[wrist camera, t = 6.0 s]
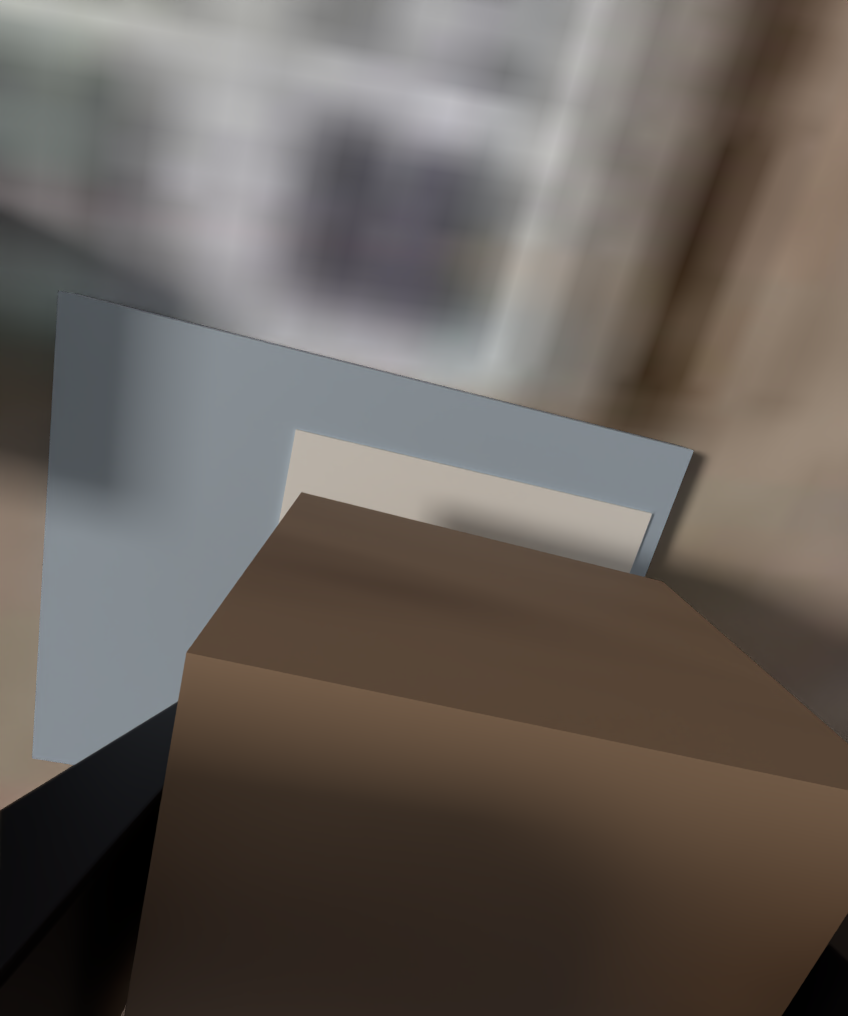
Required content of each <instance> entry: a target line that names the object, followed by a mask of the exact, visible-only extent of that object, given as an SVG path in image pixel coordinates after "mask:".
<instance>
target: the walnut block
mask: <svg viewBox="0 0 848 1016" xmlns="http://www.w3.org/2000/svg"><path fill="white" fill-rule="evenodd" d="M847 914H848V743H846V742H845V741H844V740H843V739H842V738H841V737H840V736H838V735H837V734H836V733H835V732H834V731H833V730H832V729H830V728H829V727H828V726H827V725H826V724H825V723H824V722H822V721H821V720H820V719H819V718H818V717H817V716H816V715H814V714H813V713H812V712H811V711H810V710H809V709H808V708H806V707H805V706H804V705H803V704H802V703H801V702H800V701H798V700H797V699H796V698H795V697H794V696H793V695H792V694H790V693H789V692H788V691H787V690H786V689H785V688H784V687H783V686H781V685H780V684H779V683H778V682H777V681H776V680H775V679H773V678H772V677H771V676H770V675H769V674H768V673H767V672H765V671H764V670H763V669H762V668H761V667H760V666H759V665H757V664H756V663H755V662H754V661H753V660H752V659H751V658H749V657H748V656H747V655H746V654H745V653H744V652H743V651H741V650H740V649H739V648H738V647H737V646H736V645H735V644H733V643H732V642H731V641H730V640H729V639H728V638H727V637H725V636H724V635H723V634H722V633H721V632H720V631H719V630H717V629H716V628H715V627H714V626H713V625H712V624H711V623H709V622H708V621H707V620H706V619H705V618H704V617H703V616H701V615H700V614H699V613H698V612H697V611H696V610H695V609H693V608H692V607H691V606H690V605H689V604H688V603H687V602H685V601H684V600H683V599H682V598H681V597H680V596H679V595H677V594H676V593H675V592H674V591H673V590H672V589H671V588H669V587H668V586H667V585H666V584H665V583H664V582H663V581H659V580H655V579H651V578H647V577H643V576H639V575H635V574H630V573H626V572H622V571H618V570H614V569H610V568H606V567H602V566H598V565H594V564H590V563H586V562H582V561H578V560H574V559H570V558H566V557H562V556H558V555H554V554H550V553H546V552H542V551H538V550H534V549H529V548H525V547H521V546H517V545H513V544H509V543H505V542H501V541H497V540H493V539H489V538H485V537H481V536H477V535H473V534H469V533H465V532H461V531H457V530H453V529H449V528H445V527H441V526H437V525H432V524H428V523H424V522H420V521H416V520H412V519H408V518H404V517H400V516H396V515H392V514H388V513H384V512H380V511H376V510H372V509H368V508H364V507H360V506H356V505H352V504H348V503H344V502H340V501H336V500H331V499H327V498H323V497H319V496H315V495H311V494H307V493H303V492H301V493H300V495H299V496H298V498H297V499H296V500H295V502H294V503H293V505H292V506H291V507H290V509H289V510H288V512H287V513H286V514H285V516H284V517H283V518H282V520H281V521H280V523H279V524H278V525H277V527H276V528H275V530H274V531H273V532H272V534H271V535H270V537H269V538H268V539H267V541H266V542H265V544H264V545H263V546H262V548H261V549H260V551H259V552H258V553H257V555H256V556H255V557H254V559H253V560H252V562H251V563H250V564H249V566H248V567H247V569H246V570H245V571H244V573H243V574H242V576H241V577H240V578H239V580H238V581H237V583H236V584H235V585H234V587H233V588H232V589H231V591H230V592H229V594H228V595H227V596H226V598H225V599H224V601H223V602H222V603H221V605H220V606H219V608H218V609H217V610H216V612H215V613H214V615H213V616H212V617H211V619H210V620H209V622H208V623H207V624H206V626H205V627H204V628H203V630H202V631H201V633H200V634H199V635H198V637H197V638H196V640H195V641H194V642H193V644H192V645H191V647H190V648H189V649H188V651H187V652H186V657H185V663H184V669H183V675H182V681H181V687H180V692H179V698H178V704H177V710H176V716H175V722H174V728H173V733H172V739H171V745H170V751H169V757H168V763H167V769H166V774H165V780H164V786H163V792H162V798H161V804H160V810H159V816H158V821H157V827H156V833H155V839H154V845H153V851H152V857H151V862H150V868H149V874H148V880H147V886H146V892H145V898H144V903H143V909H142V915H141V921H140V927H139V933H138V939H137V944H136V950H135V956H134V962H133V968H132V974H131V980H130V985H129V991H128V997H127V1003H126V1009H125V1015H124V1016H782V1014H783V1013H784V1011H785V1010H786V1008H787V1007H788V1005H789V1004H790V1002H791V1000H792V999H793V997H794V996H795V994H796V993H797V991H798V990H799V988H800V986H801V985H802V983H803V982H804V980H805V979H806V977H807V976H808V974H809V972H810V971H811V969H812V968H813V966H814V965H815V963H816V962H817V960H818V959H819V957H820V955H821V954H822V952H823V951H824V949H825V948H826V946H827V945H828V943H829V941H830V940H831V938H832V937H833V935H834V934H835V932H836V931H837V929H838V927H839V926H840V924H841V923H842V921H843V920H844V918H845V917H846V915H847Z"/></svg>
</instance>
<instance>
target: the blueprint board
mask: <svg viewBox="0 0 848 1016" xmlns="http://www.w3.org/2000/svg"><path fill="white" fill-rule="evenodd" d="M693 451H694V450H691V449H688V448H685V447H682V446H679V445H675V444H671V443H667V442H663V441H659V440H655V439H651V438H647V437H643V436H639V435H636V434H632V433H628V432H624V431H620V430H616V429H612V428H608V427H604V426H600V425H596V424H592V423H588V422H584V421H580V420H576V419H572V418H568V417H564V416H560V415H556V414H552V413H548V412H544V411H540V410H536V409H532V408H528V407H524V406H520V405H516V404H512V403H508V402H504V401H500V400H496V399H493V398H489V397H485V396H481V395H477V394H473V393H469V392H465V391H461V390H457V389H453V388H449V387H445V386H441V385H437V384H433V383H429V382H425V381H421V380H417V379H413V378H409V377H405V376H401V375H397V374H393V373H389V372H385V371H381V370H377V369H373V368H369V367H365V366H361V365H357V364H353V363H350V362H346V361H342V360H338V359H334V358H330V357H326V356H322V355H318V354H314V353H310V352H306V351H302V350H298V349H294V348H290V347H286V346H282V345H278V344H274V343H270V342H266V341H262V340H258V339H254V338H250V337H246V336H242V335H238V334H234V333H230V332H226V331H222V330H218V329H214V328H211V327H207V326H203V325H199V324H195V323H191V322H187V321H183V320H179V319H175V318H171V317H167V316H163V315H159V314H155V313H151V312H147V311H143V310H139V309H135V308H131V307H127V306H123V305H119V304H115V303H111V302H107V301H103V300H99V299H95V298H91V297H87V296H83V295H79V294H74V293H69V292H63V291H58V303H57V321H56V339H55V357H54V375H53V393H52V411H51V429H50V447H49V465H48V483H47V501H46V519H45V537H44V555H43V573H42V591H41V609H40V627H39V645H38V663H37V681H36V699H35V717H34V735H33V753H32V758H34V759H40V760H46V761H52V762H59V763H65V764H71V765H75V764H76V763H78V762H80V761H81V760H83V759H85V758H86V757H88V756H89V755H91V754H93V753H94V752H96V751H98V750H99V749H101V748H102V747H104V746H106V745H107V744H109V743H111V742H112V741H114V740H115V739H117V738H119V737H120V736H122V735H124V734H125V733H127V732H128V731H130V730H132V729H133V728H135V727H137V726H138V725H140V724H142V723H143V722H145V721H146V720H148V719H150V718H151V717H153V716H155V715H156V714H158V713H159V712H161V711H163V710H164V709H166V708H168V707H169V706H171V705H172V704H174V703H176V702H177V701H178V698H179V692H180V687H181V681H182V675H183V669H184V663H185V657H186V652H187V651H188V649H189V648H190V647H191V645H192V644H193V642H194V641H195V640H196V638H197V637H198V635H199V634H200V633H201V631H202V630H203V628H204V627H205V626H206V624H207V623H208V622H209V620H210V619H211V617H212V616H213V615H214V613H215V612H216V610H217V609H218V608H219V606H220V605H221V603H222V602H223V601H224V599H225V598H226V596H227V595H228V594H229V592H230V591H231V589H232V588H233V587H234V585H235V584H236V583H237V581H238V580H239V578H240V577H241V576H242V574H243V573H244V571H245V570H246V569H247V567H248V566H249V564H250V563H251V562H252V560H253V559H254V557H255V556H256V555H257V553H258V552H259V551H260V549H261V548H262V546H263V545H264V544H265V542H266V541H267V539H268V538H269V537H270V535H271V534H272V532H273V531H274V530H275V528H276V527H277V525H278V524H279V523H280V521H281V520H282V518H283V517H284V516H285V514H286V513H287V512H288V510H289V509H290V507H291V506H292V505H293V503H294V502H295V500H296V499H297V498H298V496H299V495H300V493H301V492H303V493H307V494H311V495H315V496H319V497H323V498H327V499H331V500H336V501H340V502H344V503H348V504H352V505H356V506H360V507H364V508H368V509H372V510H376V511H380V512H384V513H388V514H392V515H396V516H400V517H404V518H408V519H412V520H416V521H420V522H424V523H428V524H432V525H437V526H441V527H445V528H449V529H453V530H457V531H461V532H465V533H469V534H473V535H477V536H481V537H485V538H489V539H493V540H497V541H501V542H505V543H509V544H513V545H517V546H521V547H525V548H529V549H534V550H538V551H542V552H546V553H550V554H554V555H558V556H562V557H566V558H570V559H574V560H578V561H582V562H586V563H590V564H594V565H598V566H602V567H606V568H610V569H614V570H618V571H622V572H626V573H630V574H635V575H639V576H643V577H645V575H646V572H647V570H648V567H649V565H650V562H651V559H652V557H653V554H654V552H655V549H656V547H657V544H658V541H659V539H660V536H661V534H662V531H663V529H664V526H665V523H666V521H667V518H668V516H669V513H670V510H671V508H672V505H673V503H674V500H675V498H676V495H677V492H678V490H679V487H680V485H681V482H682V480H683V477H684V474H685V472H686V469H687V467H688V464H689V462H690V459H691V456H692V454H693Z"/></svg>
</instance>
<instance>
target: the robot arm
mask: <svg viewBox="0 0 848 1016" xmlns="http://www.w3.org/2000/svg"><path fill="white" fill-rule="evenodd" d="M177 704H178V701H177V702H176V703H174V704H172V705H171V706H169V707H168V708H166V709H164V710H163V711H161V712H159V713H158V714H156V715H155V716H153V717H151V718H150V719H148V720H146V721H145V722H143V723H142V724H140V725H138V726H137V727H135V728H133V729H132V730H130V731H128V732H127V733H125V734H124V735H122V736H120V737H119V738H117V739H115V740H114V741H112V742H111V743H109V744H107V745H106V746H104V747H102V748H101V749H99V750H98V751H96V752H94V753H93V754H91V755H89V756H88V757H86V758H85V759H83V760H81V761H80V762H78V763H76V764H75V765H73V766H72V767H70V768H68V769H67V770H65V771H63V772H62V773H60V774H58V775H57V776H55V777H54V778H52V779H50V780H49V781H47V782H45V783H44V784H42V785H41V786H39V787H37V788H36V789H34V790H32V791H31V792H29V793H28V794H26V795H24V796H23V797H21V798H19V799H18V800H16V801H15V802H13V803H11V804H10V805H8V806H6V807H5V808H3V809H2V810H0V1016H121V1014H122V1012H123V1010H124V1007H125V1005H126V1003H127V997H128V991H129V985H130V980H131V974H132V968H133V962H134V956H135V950H136V944H137V939H138V933H139V927H140V921H141V915H142V909H143V903H144V898H145V892H146V886H147V880H148V874H149V868H150V862H151V857H152V851H153V845H154V839H155V833H156V827H157V821H158V816H159V810H160V804H161V798H162V792H163V786H164V780H165V774H166V769H167V763H168V757H169V751H170V745H171V739H172V733H173V728H174V722H175V716H176V710H177ZM782 1016H848V914H847V915H846V917H845V918H844V920H843V921H842V923H841V924H840V926H839V927H838V929H837V931H836V932H835V934H834V935H833V937H832V938H831V940H830V941H829V943H828V945H827V946H826V948H825V949H824V951H823V952H822V954H821V955H820V957H819V959H818V960H817V962H816V963H815V965H814V966H813V968H812V969H811V971H810V972H809V974H808V976H807V977H806V979H805V980H804V982H803V983H802V985H801V986H800V988H799V990H798V991H797V993H796V994H795V996H794V997H793V999H792V1000H791V1002H790V1004H789V1005H788V1007H787V1008H786V1010H785V1011H784V1013H783V1014H782Z"/></svg>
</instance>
